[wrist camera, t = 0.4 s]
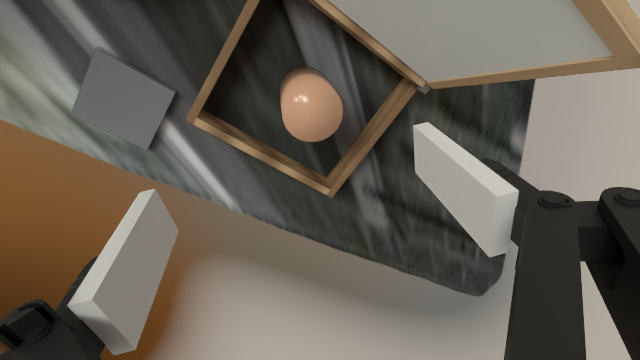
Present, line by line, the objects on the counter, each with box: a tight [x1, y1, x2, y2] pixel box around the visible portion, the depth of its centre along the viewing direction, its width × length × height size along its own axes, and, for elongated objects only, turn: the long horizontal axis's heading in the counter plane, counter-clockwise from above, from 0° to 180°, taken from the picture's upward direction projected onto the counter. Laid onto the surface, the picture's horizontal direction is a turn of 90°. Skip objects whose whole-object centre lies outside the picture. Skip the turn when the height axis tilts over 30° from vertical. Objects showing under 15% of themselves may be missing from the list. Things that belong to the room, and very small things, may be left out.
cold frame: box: [185, 0, 431, 198], centre depth 39 cm, size 22×20×6 cm
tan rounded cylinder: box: [279, 66, 343, 142], centre depth 38 cm, size 7×7×9 cm
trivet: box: [71, 47, 177, 150], centre depth 39 cm, size 9×9×1 cm
